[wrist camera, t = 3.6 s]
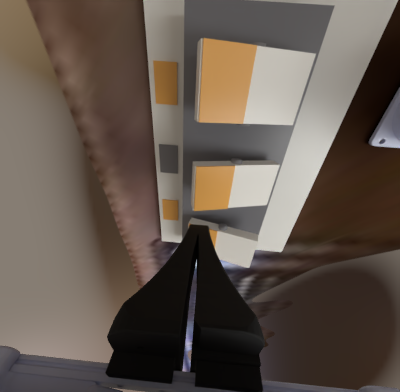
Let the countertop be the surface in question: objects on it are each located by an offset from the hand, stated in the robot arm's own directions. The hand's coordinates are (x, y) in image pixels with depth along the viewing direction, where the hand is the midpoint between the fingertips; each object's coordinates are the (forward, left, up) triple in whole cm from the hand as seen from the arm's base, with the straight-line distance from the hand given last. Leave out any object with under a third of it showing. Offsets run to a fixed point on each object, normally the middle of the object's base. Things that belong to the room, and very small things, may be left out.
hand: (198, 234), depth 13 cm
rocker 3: (-2, +5, -4) cm, 7 cm away
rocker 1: (-2, -9, -4) cm, 11 cm away
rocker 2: (-2, -2, -4) cm, 5 cm away
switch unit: (-3, -2, -10) cm, 11 cm away
